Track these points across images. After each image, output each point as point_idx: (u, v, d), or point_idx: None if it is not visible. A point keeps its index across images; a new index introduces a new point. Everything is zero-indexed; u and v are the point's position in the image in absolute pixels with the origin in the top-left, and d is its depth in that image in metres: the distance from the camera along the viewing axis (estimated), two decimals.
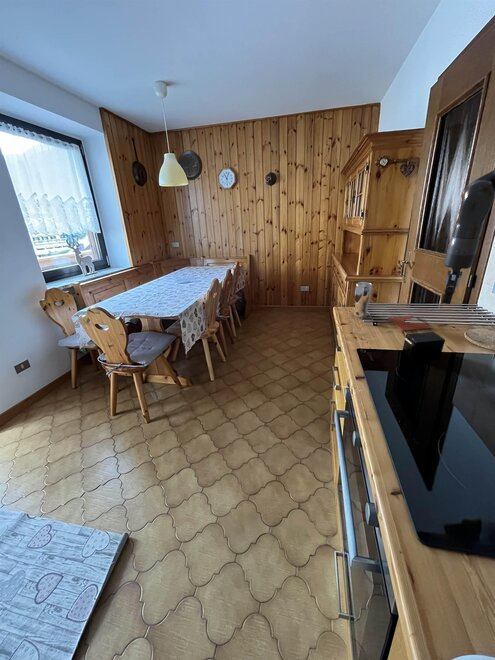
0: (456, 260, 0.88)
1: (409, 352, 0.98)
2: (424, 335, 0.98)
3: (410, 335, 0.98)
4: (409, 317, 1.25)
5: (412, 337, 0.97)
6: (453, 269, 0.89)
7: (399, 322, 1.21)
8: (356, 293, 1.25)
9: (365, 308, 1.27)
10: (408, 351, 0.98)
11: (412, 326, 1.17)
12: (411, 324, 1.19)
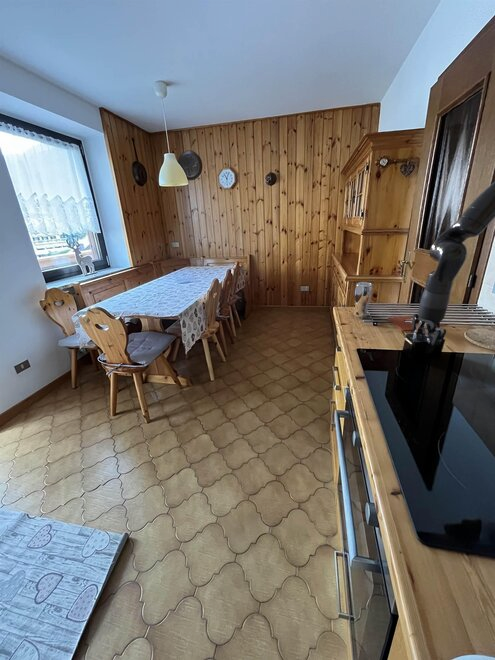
0: (438, 314, 0.89)
1: (409, 352, 0.98)
2: (424, 335, 0.98)
3: (410, 335, 0.98)
4: (409, 317, 1.25)
5: (412, 337, 0.97)
6: (435, 322, 0.90)
7: (399, 322, 1.21)
8: (356, 293, 1.25)
9: (365, 308, 1.27)
10: (408, 351, 0.98)
11: None
12: (411, 324, 1.19)
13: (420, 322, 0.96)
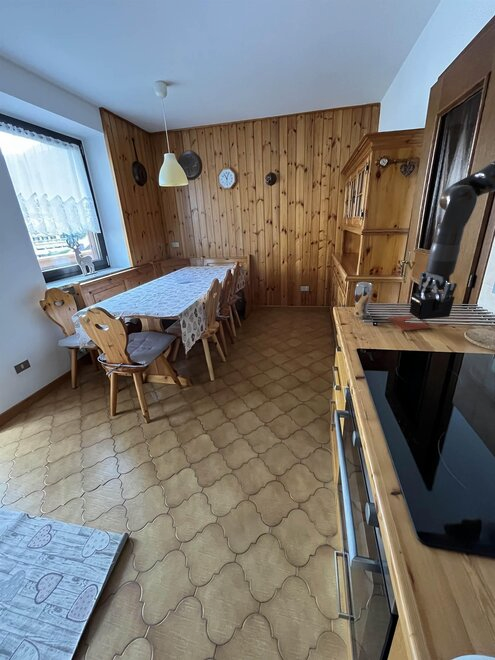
0: (447, 267, 0.85)
1: (417, 312, 0.93)
2: (432, 293, 0.94)
3: (418, 294, 0.94)
4: (409, 317, 1.25)
5: (420, 296, 0.93)
6: (445, 276, 0.86)
7: (399, 322, 1.21)
8: (356, 293, 1.25)
9: (365, 308, 1.27)
10: (416, 311, 0.94)
11: (412, 326, 1.17)
12: (411, 324, 1.19)
13: (428, 279, 0.91)
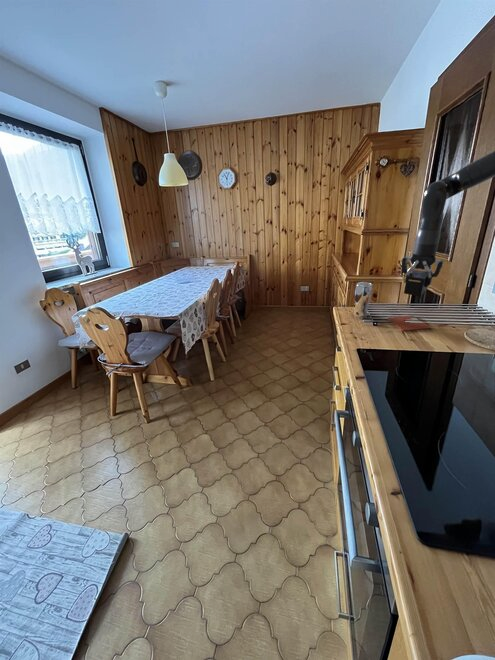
0: (436, 248, 1.03)
1: (416, 290, 1.08)
2: (416, 273, 1.11)
3: (411, 276, 1.08)
4: (409, 317, 1.25)
5: (415, 276, 1.08)
6: (434, 256, 1.04)
7: (399, 322, 1.21)
8: (356, 293, 1.25)
9: (365, 308, 1.27)
10: (415, 290, 1.08)
11: (412, 326, 1.17)
12: (411, 324, 1.19)
13: (416, 262, 1.07)
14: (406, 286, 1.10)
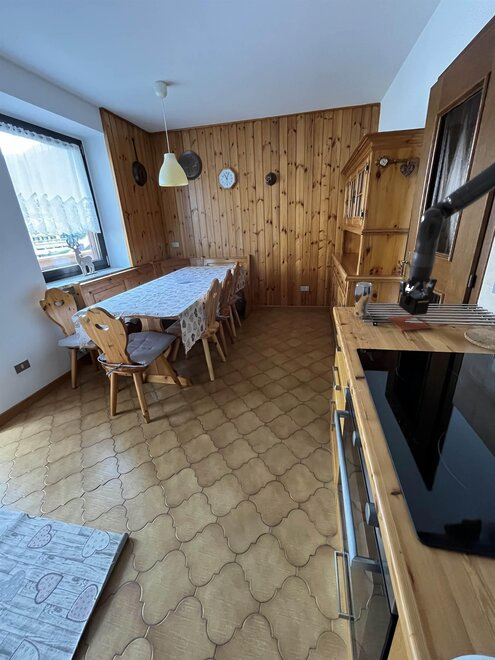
0: None
1: (424, 310, 1.12)
2: (412, 293, 1.15)
3: (417, 298, 1.11)
4: (409, 317, 1.25)
5: (421, 297, 1.11)
6: None
7: (399, 322, 1.21)
8: (356, 293, 1.25)
9: (365, 308, 1.27)
10: (422, 310, 1.12)
11: (412, 326, 1.17)
12: (411, 324, 1.19)
13: (417, 283, 1.10)
14: (414, 308, 1.12)
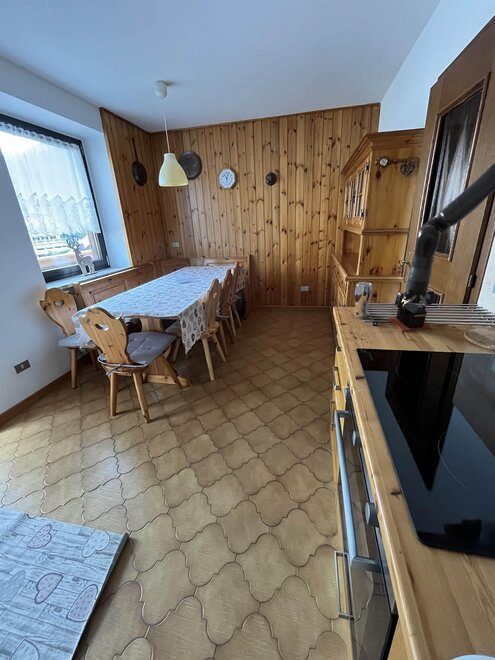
0: None
1: (420, 323, 1.15)
2: (409, 307, 1.18)
3: (414, 311, 1.14)
4: None
5: (417, 311, 1.13)
6: None
7: (399, 322, 1.21)
8: (356, 293, 1.25)
9: (365, 308, 1.27)
10: (419, 323, 1.15)
11: None
12: None
13: (414, 297, 1.13)
14: (411, 321, 1.14)
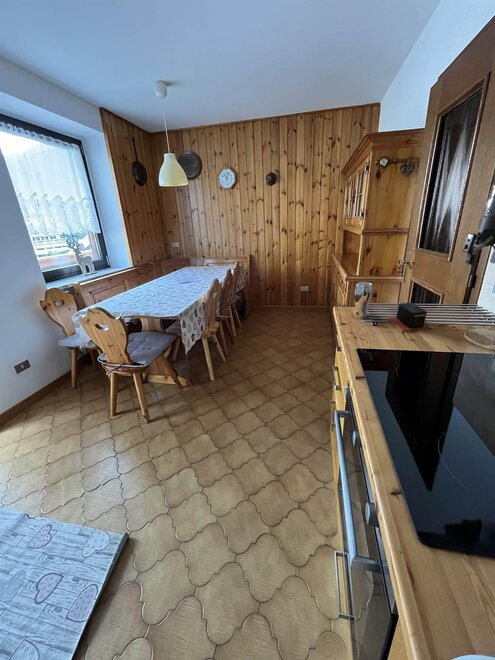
0: None
1: (420, 323, 1.15)
2: (409, 307, 1.18)
3: (414, 311, 1.14)
4: None
5: (417, 311, 1.13)
6: None
7: (399, 322, 1.21)
8: (356, 293, 1.25)
9: (365, 308, 1.27)
10: (419, 323, 1.15)
11: None
12: None
13: (490, 238, 0.91)
14: (411, 321, 1.14)
